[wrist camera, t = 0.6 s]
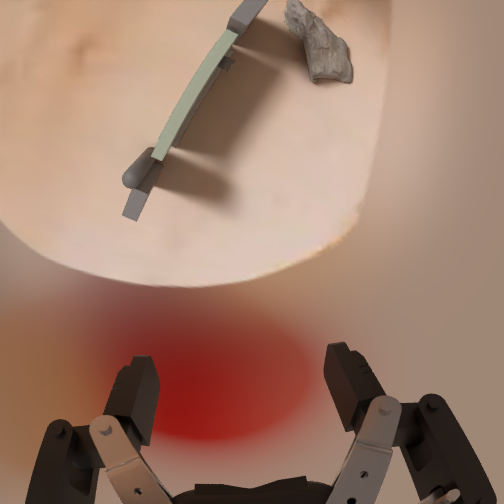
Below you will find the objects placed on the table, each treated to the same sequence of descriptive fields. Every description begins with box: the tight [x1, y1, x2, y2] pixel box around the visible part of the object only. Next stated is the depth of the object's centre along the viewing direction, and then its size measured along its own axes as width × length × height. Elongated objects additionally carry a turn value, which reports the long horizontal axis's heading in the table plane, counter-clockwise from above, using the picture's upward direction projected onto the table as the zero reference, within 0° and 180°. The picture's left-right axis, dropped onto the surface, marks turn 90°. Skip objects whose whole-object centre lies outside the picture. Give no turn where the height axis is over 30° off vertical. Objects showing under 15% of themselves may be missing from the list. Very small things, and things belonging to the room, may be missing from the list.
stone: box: [283, 0, 352, 83], centre depth 24 cm, size 6×12×4 cm, turn 21°
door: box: [151, 29, 238, 161], centre depth 24 cm, size 2×14×7 cm, turn 148°
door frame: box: [122, 0, 268, 222], centre depth 23 cm, size 3×24×10 cm, turn 148°
